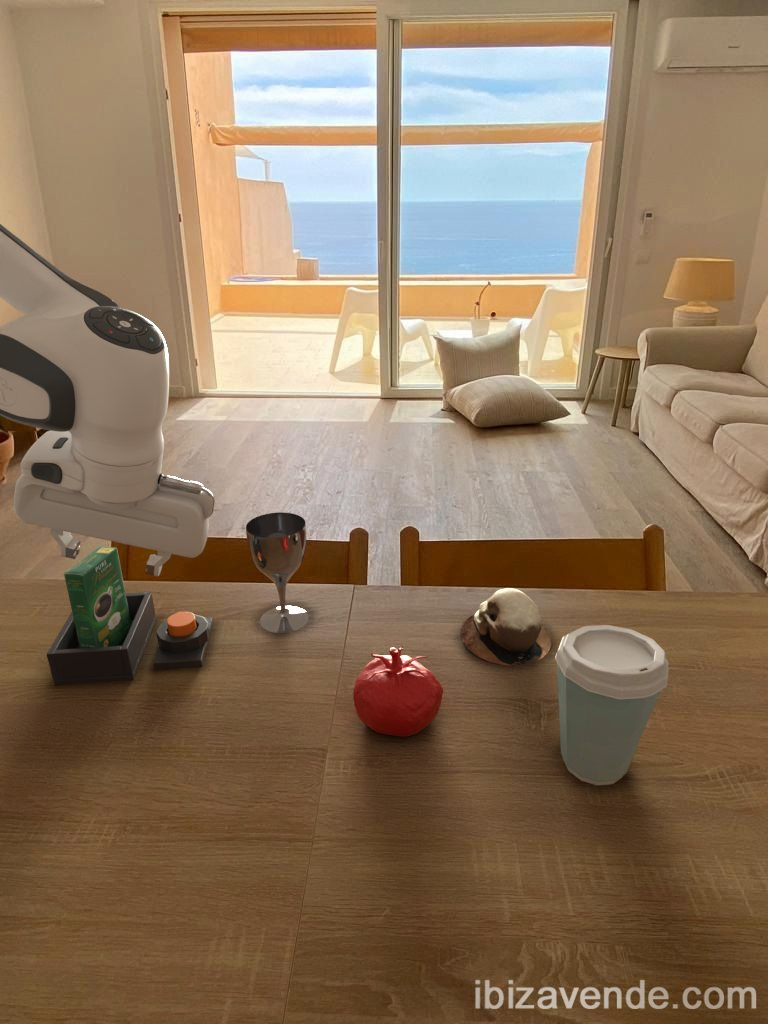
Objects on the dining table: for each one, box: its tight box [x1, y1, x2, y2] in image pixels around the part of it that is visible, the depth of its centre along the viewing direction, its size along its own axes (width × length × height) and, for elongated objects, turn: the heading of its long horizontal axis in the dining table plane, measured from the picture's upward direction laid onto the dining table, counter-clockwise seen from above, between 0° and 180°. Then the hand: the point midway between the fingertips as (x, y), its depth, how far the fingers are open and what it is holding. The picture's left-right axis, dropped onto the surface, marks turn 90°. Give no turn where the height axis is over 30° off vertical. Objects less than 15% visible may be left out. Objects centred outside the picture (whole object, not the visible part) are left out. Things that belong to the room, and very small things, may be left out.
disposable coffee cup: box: [554, 624, 670, 786], centre depth 70 cm, size 11×11×15 cm
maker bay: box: [46, 591, 157, 686], centre depth 92 cm, size 10×14×5 cm
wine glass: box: [245, 511, 309, 634], centre depth 96 cm, size 8×8×15 cm
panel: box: [153, 614, 214, 671], centre depth 93 cm, size 6×10×3 cm, turn 5°
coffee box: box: [63, 545, 131, 649], centre depth 89 cm, size 8×3×13 cm, turn 168°
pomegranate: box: [352, 646, 444, 737], centre depth 78 cm, size 10×10×9 cm
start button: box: [166, 611, 197, 637], centre depth 92 cm, size 4×4×2 cm
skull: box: [460, 587, 552, 667], centre depth 93 cm, size 12×10×10 cm
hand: (112, 563), depth 80 cm, fingers open, 8 cm apart
